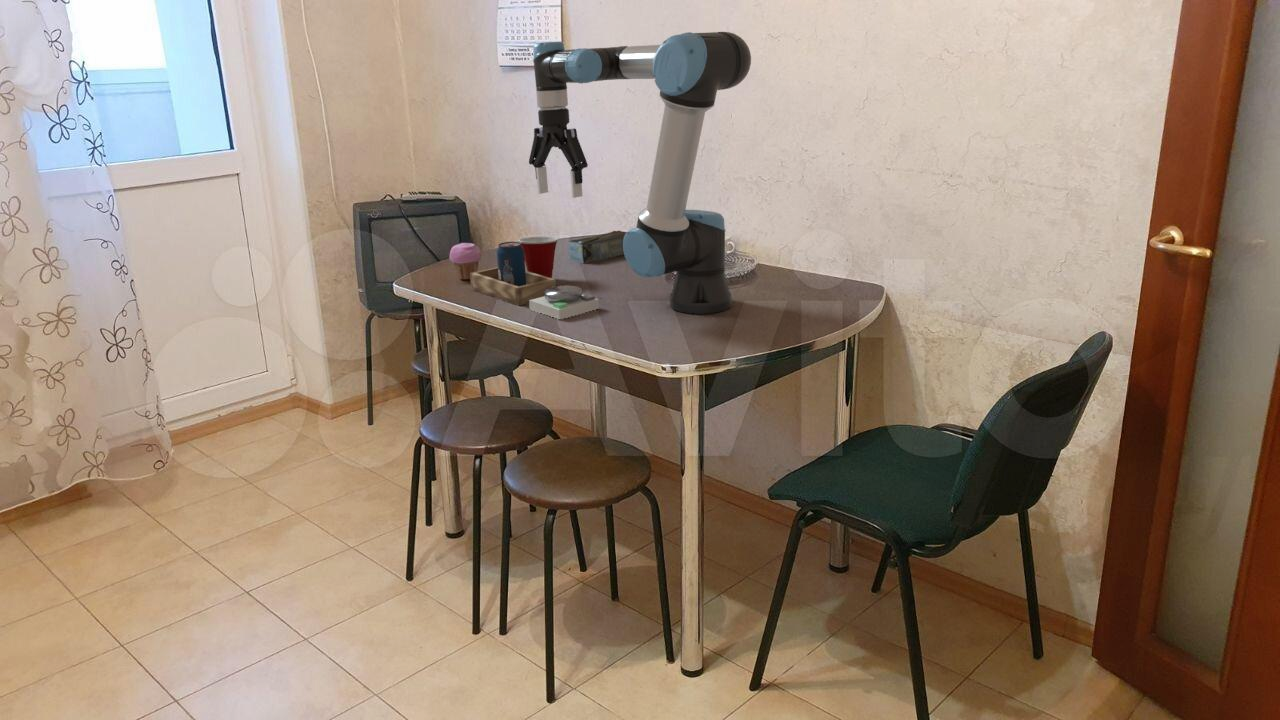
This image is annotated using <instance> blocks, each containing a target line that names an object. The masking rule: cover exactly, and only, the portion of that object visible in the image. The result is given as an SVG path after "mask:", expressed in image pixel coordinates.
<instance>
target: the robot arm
mask: <svg viewBox="0 0 1280 720" xmlns="http://www.w3.org/2000/svg"><path fill="white" fill-rule="evenodd" d="M532 48H533V60H532V62H533V67H534V79H535V89H536V91H535V92H536V102H537V103H536V105H537V108H538V109H539V110H538V112H537V113H538V114H537V115H538V123H539V125H540V126H542V127H535V128H534V129H533V141H532V144H531V145H532V146H531V150H530V154H529V157H528V158H529V159H528V164H529V165H532V166H533V167H534V168H535V169H534V170H535V179H536V183H537V184H536V185H537V193H538V194H545V193H549V186H548V185H549V184H548V174H547V166H546V165H547V164H545V163H546V161H547V159H548V156H549V154H550V152H551V150H552V148H558V149H559V150H560V151H561V152H562V154H563V155H564V157H565V159H566V161H567V162H568V164H569V167H570V168H571V169H570V170H569V172H570V174H569V175H570V184H571V185H570V186H571V197H572V199H573V198H575V199H576V198H580V197H583V169H585V168H588V162H587V159H586V156H585V153H584V151H583V148H582V145H581V144H580V141H579V138H578V133H577V128H574V127H573V128H568V127H567V126H568V124H569V123H570V112H569V111H570V110H569V109H568V108H567V107H568V105H569V101H568V100H569V98H568V86H567V84H569V83H570V84H572V83H573V84H577V83H578V84H588V83H593V82H601V81H602V82H603V81H613V80H615V81H616V80H617V81H618V80H654V82H655V85H656V86H657V88H658V90H660V91H659V97H660V99H661V100H662V102H663V103H664V110H663V113H662V114H663V115H662V121H661V124H660V125H661V126H660V130H659V137H658V142H657V147H656V153H655V154H656V155H655V159H654V166H653V170H652V176H651V182H650V187H649V188H650V189H649V193H648V198H647V204H646V207H645V208H644V209H642V210H640V211H639V212H638V216H637V221H636V227H632V228H631V229H629V230H628V231H626V232H627V233H626V234H625V236H624V239H623V251H624V255H623V256H624V258H625V260H626V261H627V265H629V267H630V269H631V270H632V271H633V272H634V273H635V274H636V275H638V276H640V277H642V278H646V279H647V278H649V279H650V278H654V277H655V278H656V277H657V278H659V277H661V276H664V275H667V274H670V273H674V272H676V273H675V279H674V281H673V286H672V291H671V293H670V295H669V307H670V309H672V310H674V311H676V312H679V313H684V312H685V314H692V313H694V314H693V315H697V314H698V315H699V314H701V315H703V314H704V315H705V314H715V313H719V312H724V311H726V310H728V309H730V308H731V307H732V306H733V297H732V293H731V292H730V289H729V285H728V284H729V283H728V281H727V278H726V277H727V276H726V274H725V270H726V269H725V268H726V267H725V265H726V263H725V261H726V256H725V255H726V253H725V252H726V251H725V250H726V228H725V226H726V225H725V218H724V216H723V215H722V214H721V213H719V212H715V211H709V210H701V209H687V208H686V207H687V203H688V198H689V193H690V188H691V184H692V179H693V173H694V169H695V165H696V159H697V154H698V150H699V149H698V148H699V143H700V138H701V135H702V130H703V124H704V119H705V114H706V112H708V111H709V110H710V109H712V108H713V107H714V106H715V102H716V97H717V93H718V91H722V90H727V89H732V88H733V87H737V86H738V85H739V84H741V83H742V82H743V80H744V79H745V78H746V77H747V75H748V74H749V72H750V68H751V64H752V54H751V51H750V48H749V46H748V44H747V43H746V40H744V39H743V38H742V37H741V36H740V35H738V34H736V33H733V32H729V31H713V32H710V31H709V32H691V31H690V32H684V33H680V34H674V35H671V36H669V37H667V39H665V40H664V41H663V42H661V44H650V45H630V46H628V45H622V46H611V47H596V48H595V47H594V48H574V49H573V48H572V49H565V45H564V43H563V41H547V42H536V43H535V44H534V45H533V47H532Z"/></svg>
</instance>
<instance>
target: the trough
mask: <svg viewBox="0 0 1280 720" xmlns="http://www.w3.org/2000/svg"><path fill="white" fill-rule="evenodd" d="M525 272H526V285H523V286H516V285H512V284H509V283H506V282H503V281H500V280H499V273H498V266H495V267H490V268H488V269H487V268H486V269H482V270H479V271H478V270H477V272H473V273H470V279H469V280H470V289H471V290H472V291H475V292H477V293H480V294H483V295H486V296H489V297H491V298H494V297H495V299H497V298H498V300H500V299H501V300H500V301H503V300H504V302H506V301H507V303H510V304H512V305H516V306H519V307H520V306H523V305H527V304H529V300H532V299H536V298H540V297H544V296H545V290H546V289H548V288H551V287H556V279H555V278H553V277H552V278H549V277H546V276H542V275H539V274H535V273H532V272H528V271H527V270H525Z"/></svg>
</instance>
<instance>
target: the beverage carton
mask: <svg viewBox="0 0 1280 720" xmlns="http://www.w3.org/2000/svg"><path fill="white" fill-rule="evenodd" d="M627 232H628V231H622V230H613V231H610V232H607V233H606V232H605V233H603V234H602V233H601V234H597V235H592V236H588V237H583V238H579V239H573V240H568V242H567V244H568V255H569V260H570V259H571V260H570V261H572V260H574V261H573V262H576V261H577V262H576V263H579V262H580V263H579V264H582V263H583V265H585V264H584V263H586V264H589V262H590V263H595V262H599V260H600V261H603V259H604V260H607V259H608V258H609V259H613V258H616V257H621V256H625V255H624V251H623V239H624V236H625V234H626V233H627ZM594 261H595V262H594Z"/></svg>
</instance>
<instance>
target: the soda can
mask: <svg viewBox="0 0 1280 720" xmlns="http://www.w3.org/2000/svg"><path fill="white" fill-rule="evenodd" d="M497 247H498V248H497V250H496V259H497V267H498V273H499V280H500V281H503V282H506V283H509V284H512V285H516V286H523V285H526V272H525V271H526V263H525V259H524V249H523V248H522V246H521V243H519V242H518V241H506V242H505V241H504V242H501V243H499V244H498V246H497Z"/></svg>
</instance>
